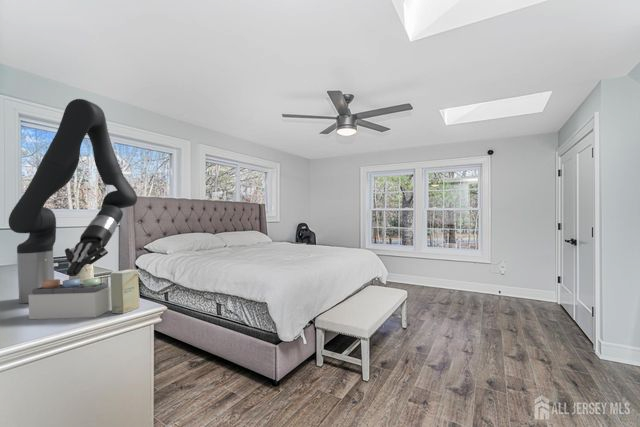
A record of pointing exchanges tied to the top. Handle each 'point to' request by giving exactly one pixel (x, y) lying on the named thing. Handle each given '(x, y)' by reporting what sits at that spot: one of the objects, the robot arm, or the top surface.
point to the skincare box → (124, 291)
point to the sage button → (91, 282)
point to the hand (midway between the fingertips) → (71, 274)
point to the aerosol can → (84, 273)
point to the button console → (69, 302)
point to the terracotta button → (51, 284)
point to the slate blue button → (71, 283)
